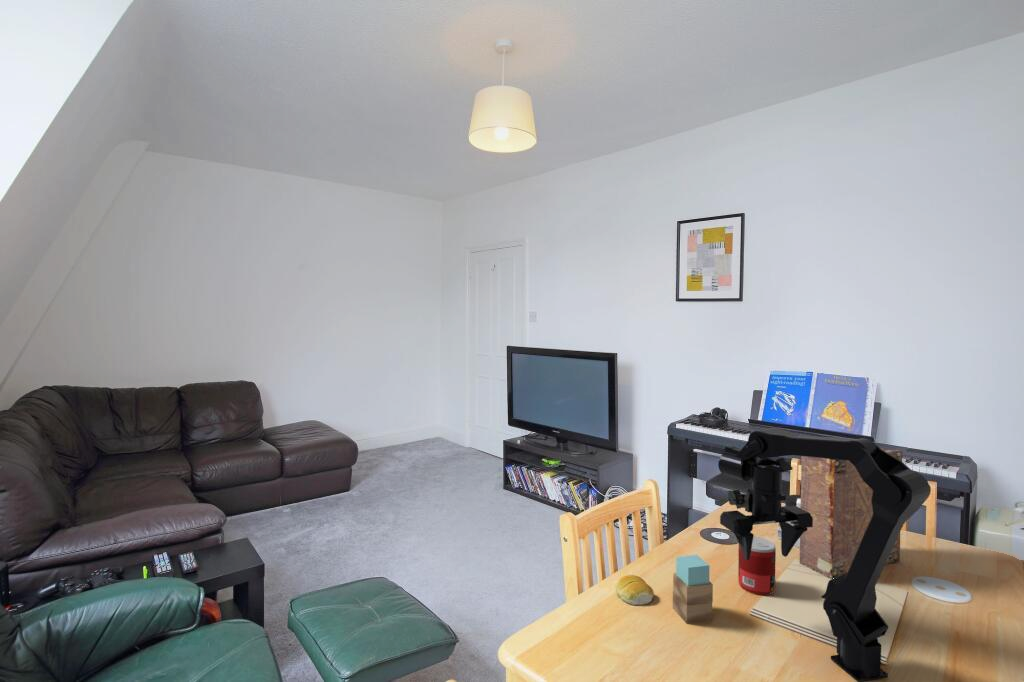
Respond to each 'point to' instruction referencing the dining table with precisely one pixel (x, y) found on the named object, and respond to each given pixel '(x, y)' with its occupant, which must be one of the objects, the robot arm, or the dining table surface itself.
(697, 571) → the teal block
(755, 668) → the dining table surface
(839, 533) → the book
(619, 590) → the bread roll
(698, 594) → the tower top
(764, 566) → the canned food
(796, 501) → the container
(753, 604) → the dining table surface
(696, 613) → the tower base
